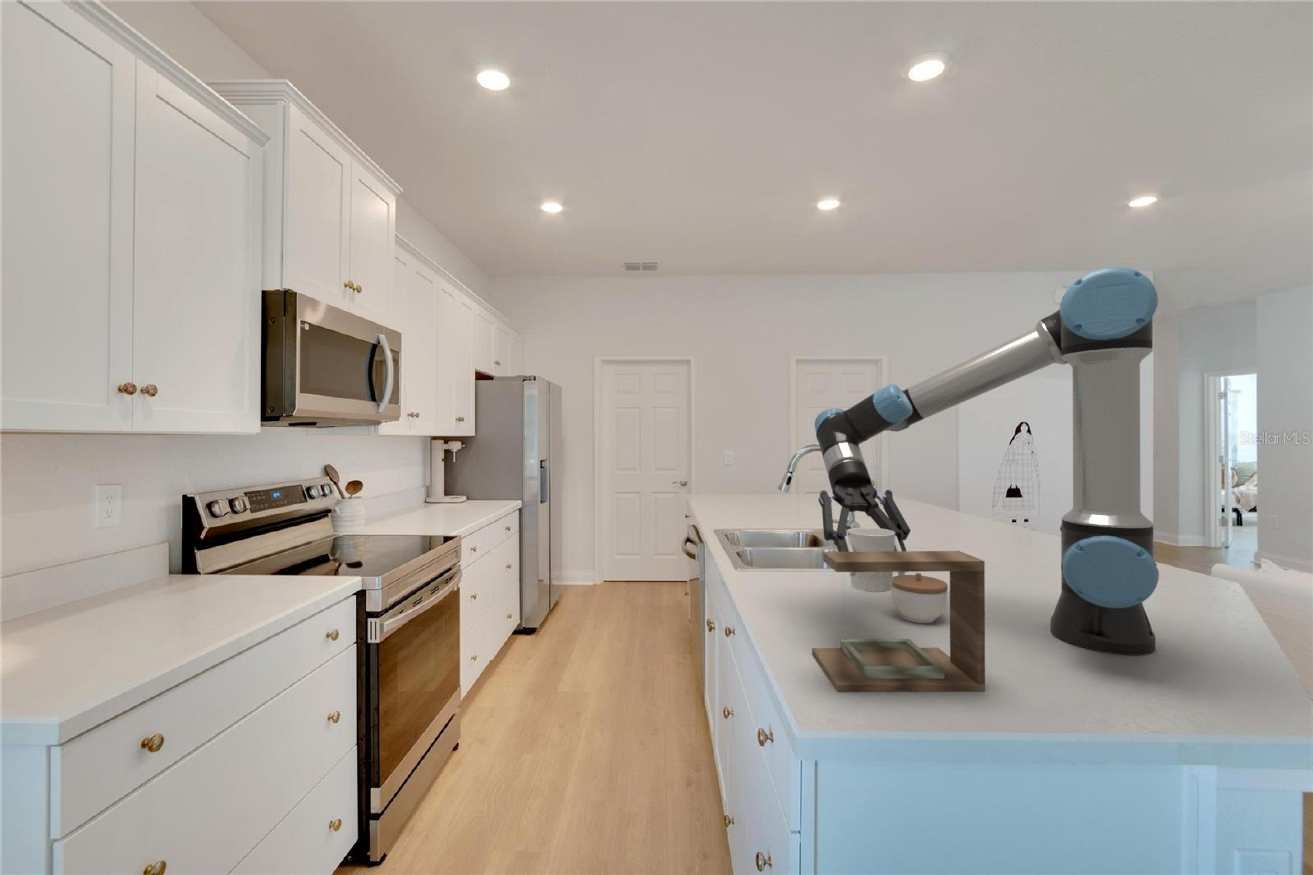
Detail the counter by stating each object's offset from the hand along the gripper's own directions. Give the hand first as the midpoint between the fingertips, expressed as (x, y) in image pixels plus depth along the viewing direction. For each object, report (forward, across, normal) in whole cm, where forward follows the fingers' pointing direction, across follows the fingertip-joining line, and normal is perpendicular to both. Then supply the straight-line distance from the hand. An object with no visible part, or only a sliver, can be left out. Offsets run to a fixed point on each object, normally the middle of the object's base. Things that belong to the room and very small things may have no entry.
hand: (878, 572), depth 94 cm
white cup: (0, 0, -5) cm, 5 cm away
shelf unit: (+14, 0, -7) cm, 16 cm away
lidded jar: (-4, -16, -25) cm, 30 cm away
